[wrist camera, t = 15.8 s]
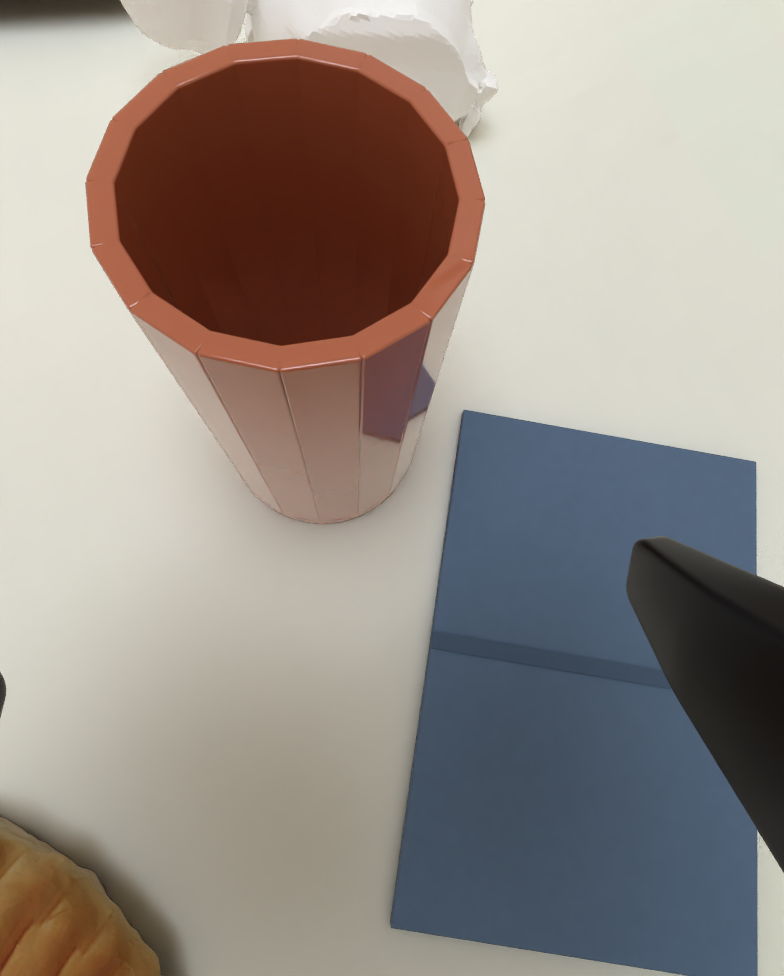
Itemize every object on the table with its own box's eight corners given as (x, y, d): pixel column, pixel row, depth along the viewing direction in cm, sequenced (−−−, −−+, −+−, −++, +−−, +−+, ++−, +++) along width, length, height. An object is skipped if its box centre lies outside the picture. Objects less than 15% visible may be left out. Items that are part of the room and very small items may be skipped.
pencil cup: (446, 462, 23) (559, 248, 10) (294, 559, 22) (212, 445, 9) (351, 327, 24) (349, -10, 12) (201, 410, 23) (16, 130, 10)
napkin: (750, 980, 19) (760, 989, 19) (390, 922, 19) (390, 929, 18) (750, 464, 24) (758, 460, 23) (462, 413, 24) (464, 408, 23)
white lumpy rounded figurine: (405, 80, 32) (96, -13, 25) (496, -102, 24) (92, -306, 17) (438, 213, 30) (110, 152, 23) (547, 57, 22) (113, -103, 15)
